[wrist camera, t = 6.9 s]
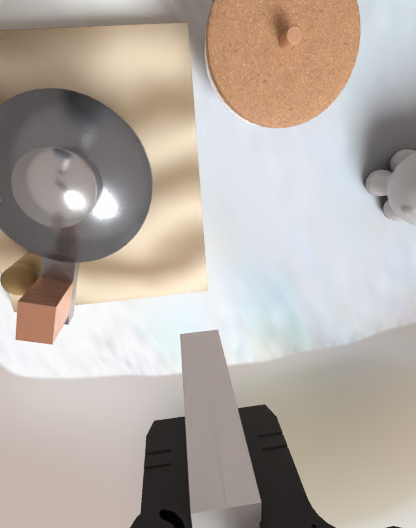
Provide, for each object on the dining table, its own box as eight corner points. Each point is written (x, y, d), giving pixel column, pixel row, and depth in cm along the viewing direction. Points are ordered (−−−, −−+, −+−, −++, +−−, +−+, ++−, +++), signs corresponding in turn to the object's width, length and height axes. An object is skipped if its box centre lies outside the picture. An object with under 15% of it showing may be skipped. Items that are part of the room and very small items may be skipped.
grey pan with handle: (-15, 68, 21) (-75, 45, 16) (166, 117, 24) (166, 111, 18) (-18, 302, 27) (-63, 342, 22) (128, 323, 29) (119, 364, 24)
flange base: (-64, 39, 26) (-158, -1, 18) (187, 28, 27) (193, -13, 20) (20, 305, 35) (-20, 350, 27) (206, 284, 36) (215, 322, 29)
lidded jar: (172, 74, 29) (174, 46, 20) (252, -43, 26) (293, -132, 18) (260, 154, 32) (295, 160, 23) (338, 57, 30) (409, 23, 21)
